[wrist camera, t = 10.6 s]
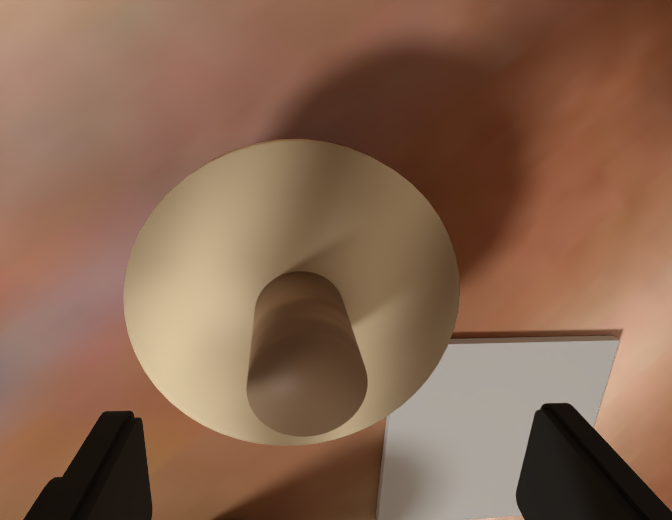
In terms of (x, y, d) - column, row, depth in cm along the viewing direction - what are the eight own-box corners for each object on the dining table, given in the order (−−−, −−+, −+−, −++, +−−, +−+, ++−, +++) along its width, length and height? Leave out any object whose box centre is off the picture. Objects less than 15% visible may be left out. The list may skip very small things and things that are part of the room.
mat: (612, 335, 27) (619, 340, 27) (562, 504, 32) (567, 511, 31) (394, 340, 25) (397, 345, 25) (375, 518, 30) (377, 526, 29)
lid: (470, 145, 17) (566, 167, 11) (429, 420, 21) (484, 534, 16) (114, 130, 15) (19, 147, 10) (149, 433, 19) (98, 567, 14)
